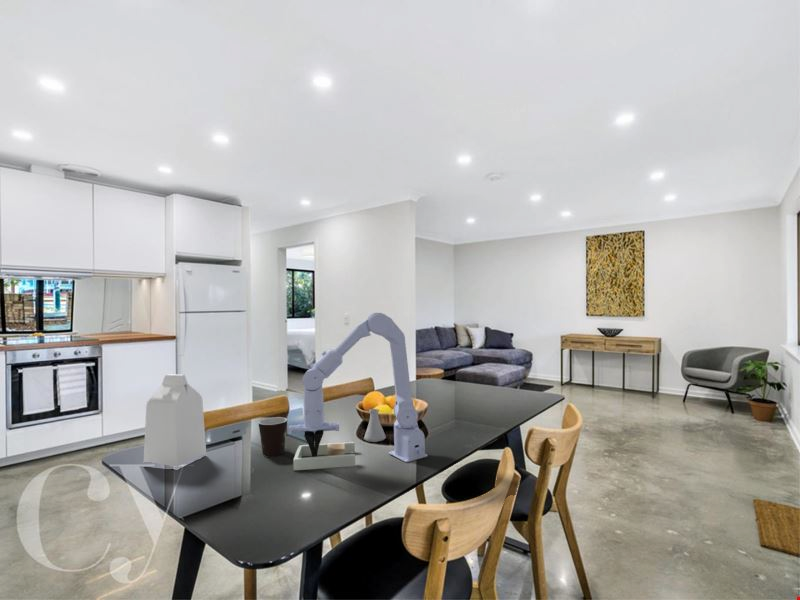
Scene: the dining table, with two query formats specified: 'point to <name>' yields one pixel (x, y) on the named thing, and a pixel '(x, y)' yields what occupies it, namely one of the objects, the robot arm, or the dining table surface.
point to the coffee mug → (273, 435)
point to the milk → (174, 423)
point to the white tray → (323, 457)
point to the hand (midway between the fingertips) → (314, 456)
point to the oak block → (335, 449)
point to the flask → (374, 428)
